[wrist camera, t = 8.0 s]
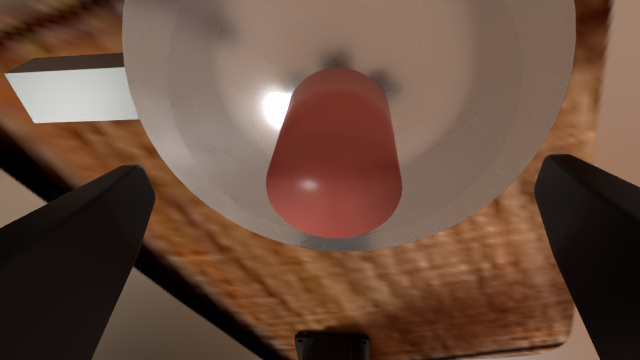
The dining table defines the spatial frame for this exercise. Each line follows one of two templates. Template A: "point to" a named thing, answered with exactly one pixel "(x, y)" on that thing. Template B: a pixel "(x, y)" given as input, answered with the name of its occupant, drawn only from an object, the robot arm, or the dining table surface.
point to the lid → (348, 108)
